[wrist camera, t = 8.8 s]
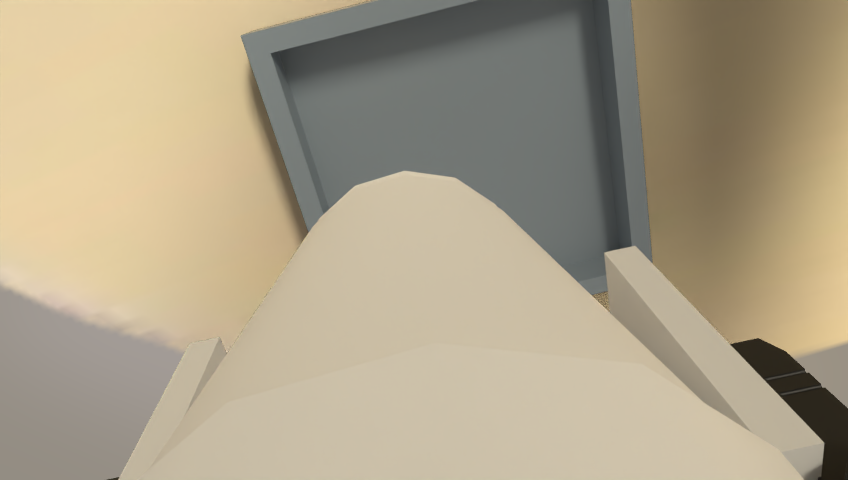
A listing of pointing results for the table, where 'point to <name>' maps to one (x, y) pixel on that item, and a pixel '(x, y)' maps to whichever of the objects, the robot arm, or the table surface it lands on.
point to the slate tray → (470, 112)
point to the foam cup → (445, 364)
